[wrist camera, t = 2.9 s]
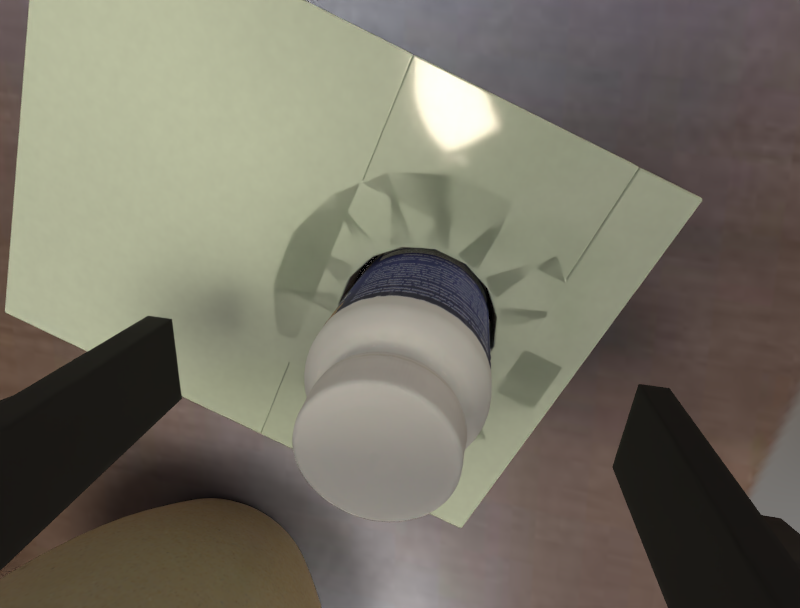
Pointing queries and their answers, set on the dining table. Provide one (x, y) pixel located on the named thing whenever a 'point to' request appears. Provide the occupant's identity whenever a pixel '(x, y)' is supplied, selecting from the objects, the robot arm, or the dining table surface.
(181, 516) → the tan round bowl
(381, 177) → the pale green flat block
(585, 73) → the dining table surface
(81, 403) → the robot arm
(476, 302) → the pill bottle
